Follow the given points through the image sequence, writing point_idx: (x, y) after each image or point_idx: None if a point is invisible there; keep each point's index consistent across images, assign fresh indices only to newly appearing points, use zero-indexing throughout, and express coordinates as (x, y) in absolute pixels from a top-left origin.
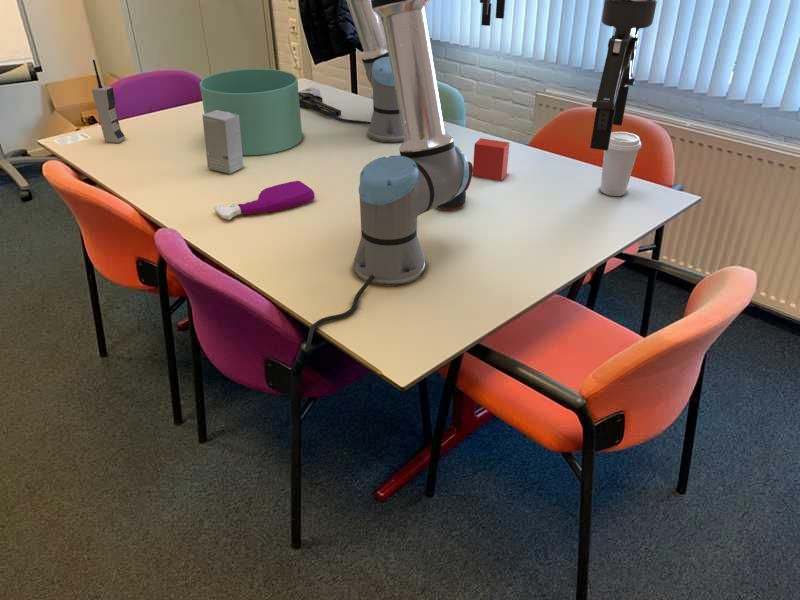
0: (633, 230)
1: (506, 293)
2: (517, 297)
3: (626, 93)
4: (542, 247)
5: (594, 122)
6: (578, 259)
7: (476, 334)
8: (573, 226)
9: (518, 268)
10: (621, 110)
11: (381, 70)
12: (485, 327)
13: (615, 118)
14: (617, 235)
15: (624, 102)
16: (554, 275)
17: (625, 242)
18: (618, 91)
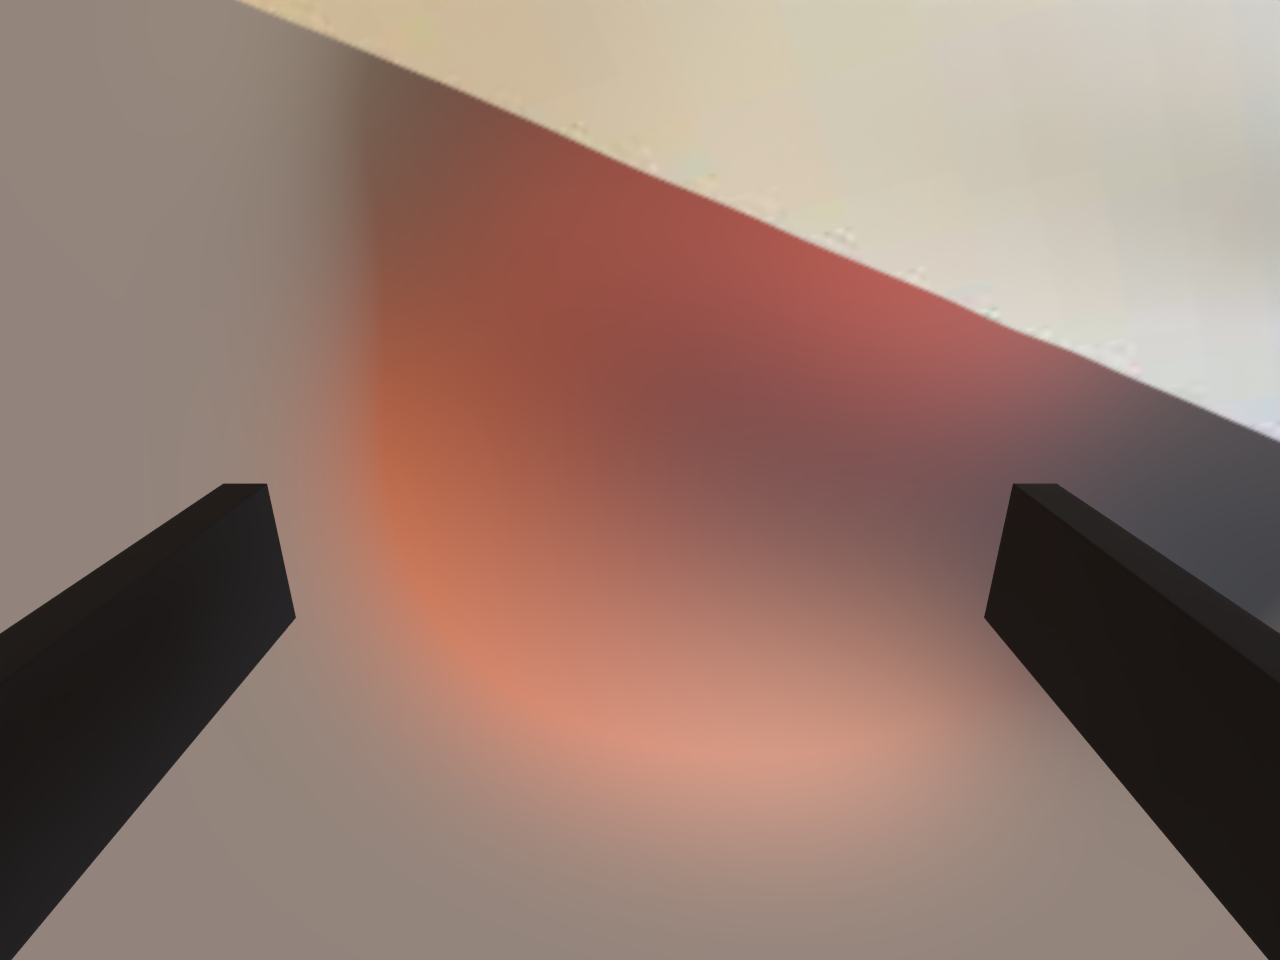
0: (1222, 383)
1: (626, 50)
2: (618, 99)
3: (1210, 881)
4: (1013, 84)
5: (29, 618)
6: (951, 242)
7: (344, 33)
8: (1226, 162)
9: (817, 37)
10: (1066, 690)
11: None
12: (396, 49)
13: (1027, 594)
14: (1171, 337)
15: (1126, 772)
16: (811, 187)
17: (1119, 371)
18: (1265, 802)
